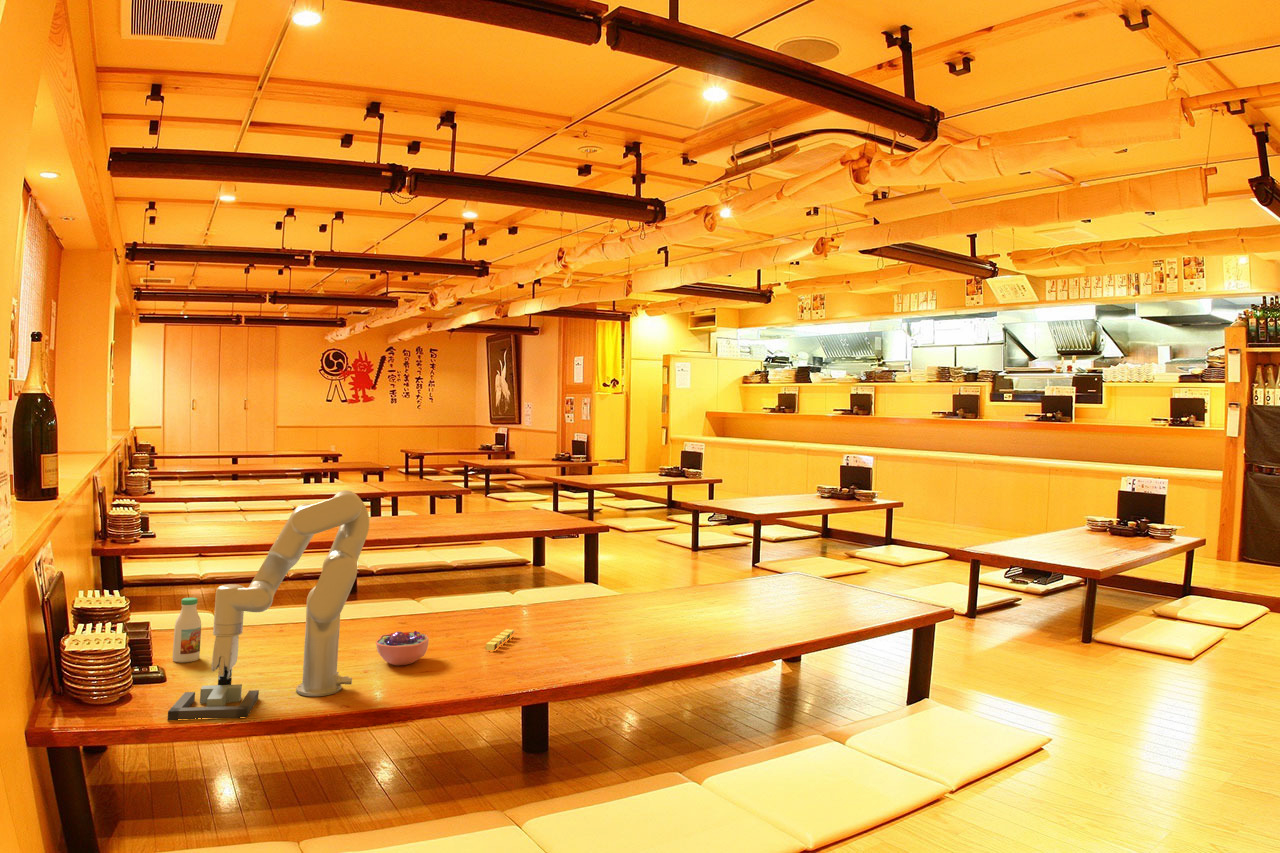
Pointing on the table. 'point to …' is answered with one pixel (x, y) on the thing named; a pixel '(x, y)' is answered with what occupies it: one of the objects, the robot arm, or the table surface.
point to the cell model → (402, 647)
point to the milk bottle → (187, 633)
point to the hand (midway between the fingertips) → (224, 692)
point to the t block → (220, 694)
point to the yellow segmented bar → (499, 639)
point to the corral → (211, 708)
